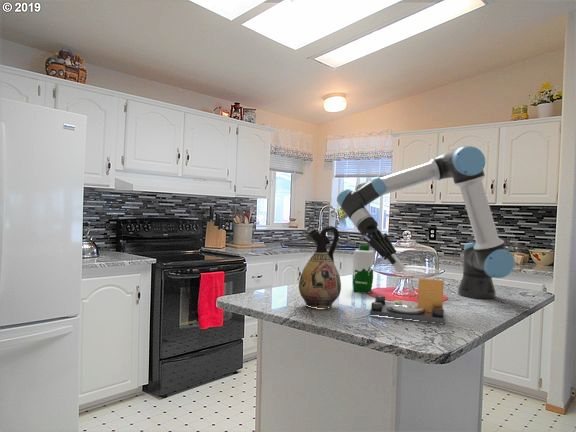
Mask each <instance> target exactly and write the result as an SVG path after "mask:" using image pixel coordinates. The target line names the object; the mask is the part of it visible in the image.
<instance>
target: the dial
mask: <svg viewBox="0 0 576 432" xmlns="http://www.w3.org/2000/svg"><path fill="white" fill-rule="evenodd" d="M444 281H445V280H443V279H434V278H433V279H432V278H418V291H417V292H418V293H417V295H418V297H417V298H418V299H417V302H415V301H410V300H409V301H408V300H390V301H386V302H387V309H388V310H391V311H394V312H398V313H406V314H420V313H424V312H432V309H433V308H441V309H444V307H443V306H444V305H443V303H444V302H443V301H444V283H445V282H444Z"/></svg>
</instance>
